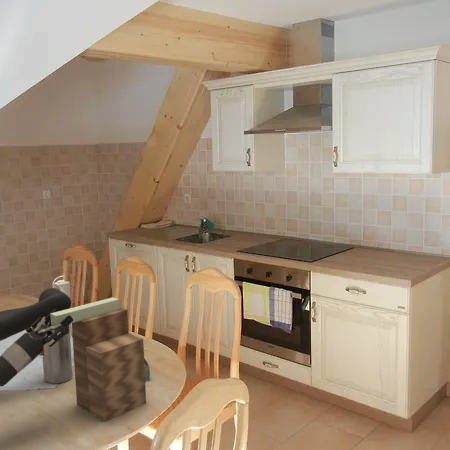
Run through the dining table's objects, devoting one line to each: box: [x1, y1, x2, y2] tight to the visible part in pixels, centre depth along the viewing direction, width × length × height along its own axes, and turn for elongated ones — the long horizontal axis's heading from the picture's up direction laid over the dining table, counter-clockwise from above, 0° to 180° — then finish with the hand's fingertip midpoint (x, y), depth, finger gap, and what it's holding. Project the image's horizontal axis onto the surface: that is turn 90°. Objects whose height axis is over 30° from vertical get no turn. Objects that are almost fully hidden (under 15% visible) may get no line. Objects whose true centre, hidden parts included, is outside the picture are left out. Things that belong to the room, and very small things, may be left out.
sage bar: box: [50, 296, 121, 326], centre depth 166 cm, size 22×4×4 cm, turn 136°
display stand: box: [71, 306, 147, 422], centre depth 170 cm, size 16×16×30 cm
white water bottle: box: [52, 275, 72, 339], centre depth 229 cm, size 8×8×28 cm
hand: (64, 314), depth 161 cm, fingers open, 8 cm apart
